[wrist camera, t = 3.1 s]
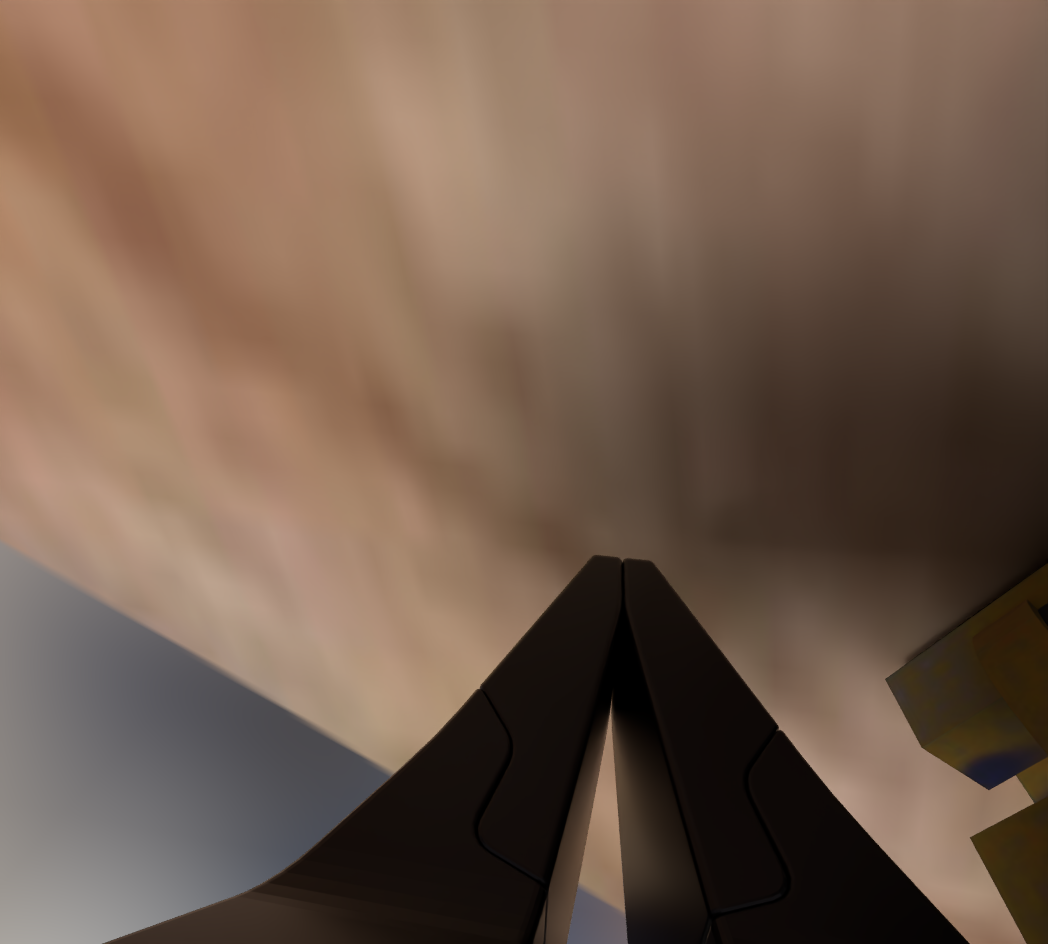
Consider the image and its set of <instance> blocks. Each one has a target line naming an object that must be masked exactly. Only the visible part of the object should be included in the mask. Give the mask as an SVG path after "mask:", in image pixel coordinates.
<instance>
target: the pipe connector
mask: <svg viewBox="0 0 1048 944" xmlns="http://www.w3.org/2000/svg"><path fill="white" fill-rule="evenodd" d="M885 680H886V682H887V683H888V685H889V687H890V689H891V691H892V693H893V695H894V696H895V698H896V700H897V702H898V704H899V706H900V708H901V710H902V711H903V713H904V715H905V717H906V719H907V721H908V723H909V725H910V726H911V728H912V730H913V732H914V734H915V736H916V738H917V740H918V741H919V743H920V745H921V747H922V748H923V749H925V750H926V751H928V752H929V753H931V754H933V755H934V756H936V757H937V758H939V759H941V760H942V761H944V762H945V763H947V764H948V765H950V766H952V767H953V768H955V769H956V770H958V771H959V772H961V773H963V774H964V775H966V776H967V777H969V778H970V779H972V780H974V781H975V782H977V783H978V784H980V785H982V786H983V787H985V788H986V789H988V790H990V789H992V788H993V787H995V786H997V785H999V784H1001V783H1002V782H1004V781H1006V780H1008V779H1010V778H1011V777H1013V776H1015V775H1016V776H1017V778H1018V779H1019V781H1020V782H1021V784H1022V785H1023V787H1024V788H1025V790H1026V791H1027V793H1028V794H1029V796H1030V797H1031V799H1032V800H1033V802H1034V804H1032V805H1031V806H1029V807H1027V808H1025V809H1023V810H1021V811H1019V812H1017V813H1015V814H1014V815H1012V816H1010V817H1008V818H1006V819H1004V820H1002V821H1000V822H998V823H997V824H995V825H993V826H991V827H989V828H987V829H985V830H983V831H981V832H980V833H978V834H976V835H974V836H972V837H970V839H971V840H972V842H973V844H974V846H975V848H976V850H977V852H978V854H979V855H980V857H981V859H982V861H983V863H984V865H985V867H986V869H987V870H988V872H989V874H990V876H991V878H992V880H993V882H994V883H995V885H996V887H997V889H998V891H999V893H1000V895H1001V897H1002V898H1003V900H1004V902H1005V904H1006V906H1007V908H1008V910H1009V912H1010V913H1011V915H1012V917H1013V919H1014V921H1015V923H1016V925H1017V927H1018V928H1019V930H1020V932H1021V934H1022V936H1023V938H1024V940H1025V941H1026V943H1027V944H1048V563H1047V564H1045V565H1044V566H1043V567H1041V568H1040V569H1038V570H1037V571H1036V572H1034V573H1033V574H1032V575H1030V576H1029V577H1027V578H1026V579H1025V580H1023V581H1022V582H1020V583H1019V584H1018V585H1016V586H1015V587H1013V588H1012V589H1011V590H1009V591H1008V592H1006V593H1005V594H1004V595H1002V596H1001V597H999V598H998V599H997V600H995V601H994V602H992V603H991V604H990V605H988V606H987V607H985V608H984V609H983V610H981V611H980V612H978V613H977V614H976V615H974V616H973V617H971V618H970V619H969V620H967V621H966V622H964V623H963V624H962V625H960V626H959V627H958V628H956V629H955V630H953V631H952V632H951V633H949V634H948V635H946V636H945V637H944V638H942V639H941V640H939V641H938V642H937V643H935V644H934V645H932V646H931V647H930V648H928V649H927V650H925V651H924V652H923V653H921V654H920V655H918V656H917V657H916V658H914V659H913V660H911V661H910V662H909V663H907V664H906V665H904V666H903V667H902V668H900V669H899V670H897V671H896V672H895V673H893V674H892V675H890V676H889V677H888V678H886V679H885Z"/></svg>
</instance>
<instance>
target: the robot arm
mask: <svg viewBox="0 0 1048 944" xmlns="http://www.w3.org/2000/svg"><path fill="white" fill-rule="evenodd" d="M611 700H612V708H611ZM610 708H611V716H612V735H613V749H614V763H615V776H616V790H617V804H618V817H619V831H620V845H621V858H622V872H623V886H624V900H625V913H626V925H627V941H628V944H969V942H968V941H967V940H966V939H965V938H964V937H963V936H962V935H961V934H960V933H959V932H958V931H957V930H956V928H955V927H954V926H953V925H952V924H951V923H950V922H949V921H948V920H947V919H946V918H945V917H944V915H943V914H942V913H941V912H940V911H939V910H938V909H937V908H936V907H935V906H934V905H933V904H932V903H931V901H930V900H929V899H928V898H927V897H926V896H925V895H924V894H923V893H922V892H921V891H920V890H919V889H918V887H917V886H916V885H915V884H914V883H913V882H912V881H911V880H910V879H909V878H908V877H907V876H906V874H905V873H904V872H903V871H902V870H901V869H900V868H899V867H898V866H897V865H896V864H895V863H894V862H893V860H892V859H891V858H890V857H889V856H888V855H887V854H886V853H885V852H884V851H883V850H882V849H881V848H880V846H879V845H878V844H877V843H876V842H875V841H874V840H873V839H872V838H871V837H870V835H869V834H868V833H867V832H866V831H865V830H864V829H863V828H862V826H861V825H860V824H859V823H858V822H857V821H856V820H855V819H854V817H853V816H852V815H851V814H850V813H849V812H848V811H847V810H846V808H845V807H844V806H843V805H842V804H841V803H840V802H839V801H838V799H837V798H836V797H835V796H834V795H833V794H832V792H831V791H830V790H829V789H828V788H827V786H826V785H825V784H824V783H823V781H822V780H821V779H820V778H819V776H818V775H817V774H816V773H815V772H814V770H813V769H812V768H811V767H810V765H809V764H808V763H807V762H806V760H805V759H804V758H803V757H802V755H801V754H800V753H799V752H798V750H797V749H796V748H795V746H794V745H793V744H792V742H791V741H790V740H789V739H788V737H787V736H786V735H785V733H784V732H783V731H781V730H779V727H778V725H777V723H776V722H775V721H774V719H773V718H772V717H771V715H770V714H769V713H768V712H767V710H766V709H765V708H764V706H763V705H762V704H761V702H760V701H759V700H758V699H757V697H756V696H755V695H754V693H753V692H752V691H751V689H750V688H749V687H748V686H747V684H746V683H745V682H744V680H743V679H742V678H741V676H740V675H739V674H738V672H737V671H736V670H735V669H734V667H733V666H732V665H731V663H730V662H729V661H728V659H727V658H726V657H725V656H724V654H723V653H722V652H721V650H720V649H719V648H718V646H717V645H716V644H715V643H714V641H713V640H712V639H711V637H710V636H709V635H708V633H707V632H706V631H705V629H704V628H703V627H702V626H701V624H700V623H699V622H698V620H697V619H696V618H695V616H694V615H693V614H692V613H691V611H690V610H689V609H688V607H687V606H686V605H685V603H684V602H683V601H682V599H681V598H680V597H679V596H678V594H677V593H676V592H675V590H674V589H673V588H672V586H671V585H670V584H669V583H668V581H667V580H666V579H665V577H664V576H663V575H662V573H661V572H660V571H659V570H658V568H657V567H656V566H655V564H654V563H653V562H651V561H649V560H640V559H630V558H626V559H624V560H623V562H622V561H621V559H620V558H618V557H611V556H601V555H594V556H593V557H592V558H591V559H590V560H589V561H588V562H587V563H586V564H585V565H584V567H583V568H582V569H581V570H580V571H579V572H578V574H577V575H576V576H575V577H574V578H573V579H572V580H571V582H570V583H569V584H568V585H567V586H566V587H565V589H564V590H563V591H562V592H561V593H560V594H559V595H558V597H557V598H556V599H555V600H554V601H553V602H552V604H551V605H550V606H549V607H548V608H547V609H546V610H545V612H544V613H543V614H542V615H541V616H540V617H539V619H538V620H537V621H536V622H535V623H534V624H533V625H532V627H531V628H530V629H529V630H528V631H527V632H526V634H525V635H524V636H523V637H522V638H521V639H520V640H519V642H518V643H517V644H516V645H515V646H514V647H513V649H512V650H511V651H510V652H509V653H508V654H507V655H506V657H505V658H504V659H503V660H502V661H501V662H500V664H499V665H498V666H497V667H496V668H495V669H494V670H493V672H492V673H491V674H490V675H489V676H488V677H487V679H486V680H485V681H484V682H483V683H482V684H481V686H480V689H477V690H476V691H475V692H474V693H473V694H472V695H471V697H470V698H469V699H468V700H467V701H466V702H465V704H464V705H463V706H462V707H461V708H460V709H459V710H458V712H457V713H456V714H455V715H454V716H453V717H452V718H451V719H450V720H449V721H448V722H447V723H446V724H445V725H444V727H443V728H442V729H441V730H440V731H439V732H438V733H437V734H436V735H435V736H434V737H433V738H432V739H431V740H430V741H429V742H428V743H427V744H426V745H425V746H424V747H423V748H422V749H420V750H419V751H418V752H417V753H416V754H415V755H414V756H413V757H412V758H411V759H410V760H409V761H408V762H407V763H406V764H404V765H403V766H402V767H401V768H400V769H399V770H398V771H397V772H396V773H395V774H393V775H392V776H391V777H390V778H389V779H388V780H387V781H386V782H385V783H383V784H382V785H381V786H380V787H379V788H378V789H377V790H376V791H375V792H373V793H372V794H371V795H370V796H369V797H368V798H367V799H366V800H364V801H363V802H362V803H361V804H360V805H359V806H358V807H357V808H355V809H354V810H353V811H352V812H351V813H350V814H349V815H348V816H347V817H345V818H344V819H343V820H342V821H341V822H340V823H339V824H338V825H336V826H335V827H334V828H333V829H332V830H331V831H330V832H329V833H327V834H326V835H325V836H324V837H323V838H322V839H321V840H320V841H319V842H317V843H316V844H315V845H314V846H313V847H312V848H311V849H309V850H308V851H307V852H306V853H305V854H303V855H302V856H301V857H300V858H299V859H297V860H296V861H295V862H293V863H292V864H291V865H289V866H288V867H286V868H285V869H284V870H282V871H281V872H279V873H278V874H276V875H275V876H273V877H271V878H270V879H268V880H267V881H265V882H263V883H262V884H260V885H258V886H256V887H254V888H252V889H250V890H248V891H246V892H244V893H241V894H239V895H236V896H234V897H231V898H228V899H225V900H223V901H220V902H217V903H214V904H211V905H209V906H206V907H203V908H200V909H197V910H195V911H192V912H189V913H186V914H184V915H181V916H178V917H175V918H172V919H170V920H167V921H164V922H161V923H159V924H156V925H153V926H150V927H147V928H145V929H142V930H139V931H136V932H134V933H131V934H128V935H125V936H123V937H120V938H117V939H114V940H111V941H109V942H106V943H103V944H567V939H568V934H569V929H570V924H571V918H572V913H573V908H574V902H575V897H576V892H577V887H578V881H579V876H580V871H581V866H582V860H583V855H584V850H585V844H586V839H587V834H588V829H589V823H590V818H591V813H592V808H593V802H594V797H595V792H596V786H597V781H598V776H599V771H600V765H601V760H602V755H603V750H604V744H605V739H606V734H607V728H608V722H609V716H610Z"/></svg>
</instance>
